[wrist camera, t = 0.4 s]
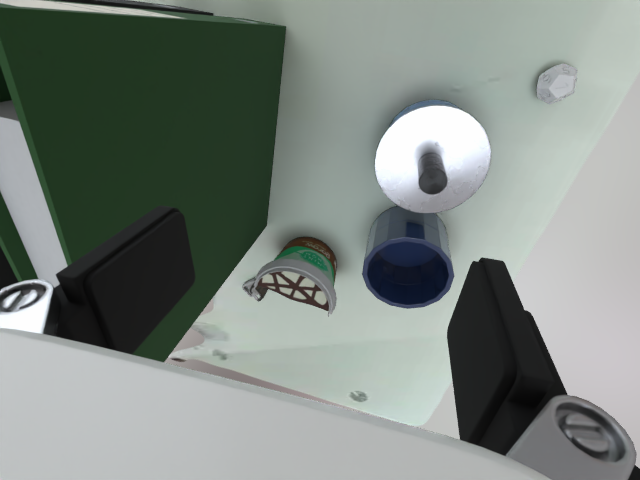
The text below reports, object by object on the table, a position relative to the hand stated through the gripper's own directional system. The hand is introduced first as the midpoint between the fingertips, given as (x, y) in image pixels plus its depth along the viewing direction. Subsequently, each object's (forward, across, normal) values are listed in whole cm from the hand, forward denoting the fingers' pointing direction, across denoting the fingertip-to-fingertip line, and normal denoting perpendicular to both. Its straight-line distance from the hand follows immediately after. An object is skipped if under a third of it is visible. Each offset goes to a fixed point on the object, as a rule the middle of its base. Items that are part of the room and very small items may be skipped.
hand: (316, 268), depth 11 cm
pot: (+35, -6, +18) cm, 40 cm away
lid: (+28, -6, +5) cm, 29 cm away
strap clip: (+35, +17, +32) cm, 50 cm away
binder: (+35, +21, +6) cm, 41 cm away
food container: (+35, +8, +23) cm, 42 cm away
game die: (+35, -17, -3) cm, 39 cm away
